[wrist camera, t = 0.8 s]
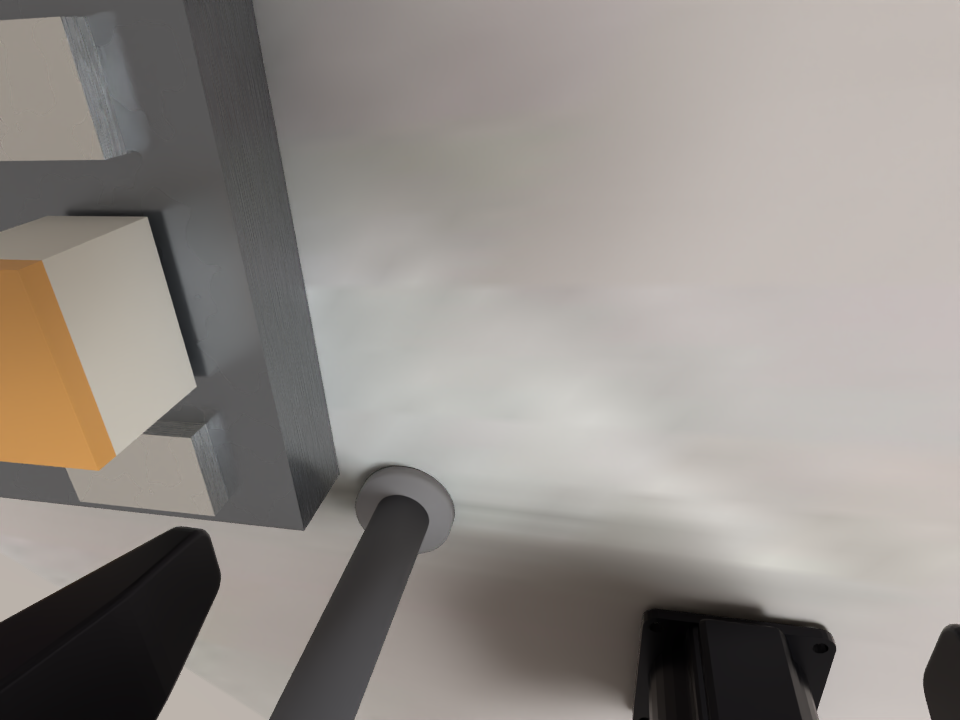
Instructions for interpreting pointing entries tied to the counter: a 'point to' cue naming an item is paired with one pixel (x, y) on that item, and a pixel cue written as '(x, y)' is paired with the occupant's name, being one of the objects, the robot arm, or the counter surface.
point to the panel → (176, 244)
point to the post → (367, 593)
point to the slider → (84, 340)
